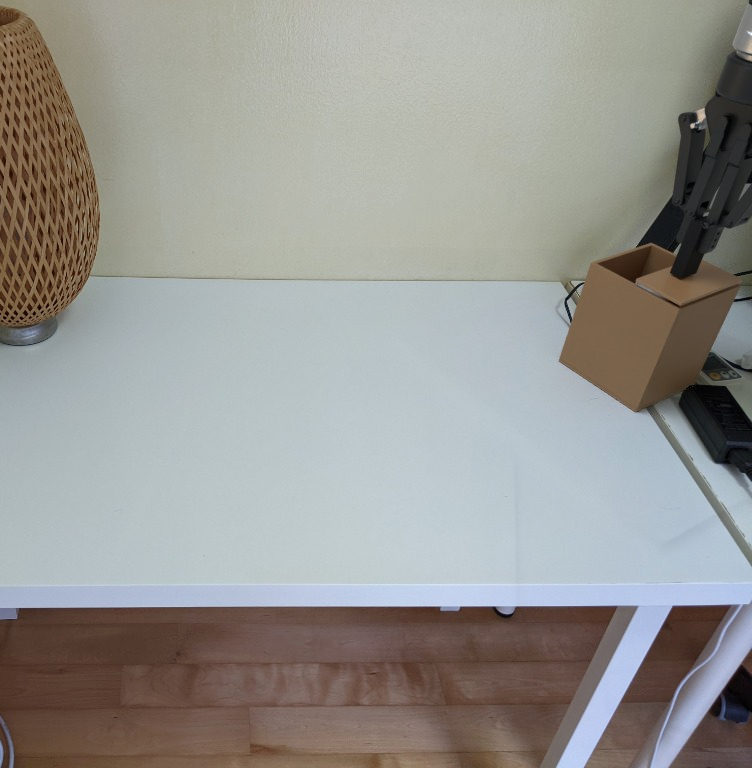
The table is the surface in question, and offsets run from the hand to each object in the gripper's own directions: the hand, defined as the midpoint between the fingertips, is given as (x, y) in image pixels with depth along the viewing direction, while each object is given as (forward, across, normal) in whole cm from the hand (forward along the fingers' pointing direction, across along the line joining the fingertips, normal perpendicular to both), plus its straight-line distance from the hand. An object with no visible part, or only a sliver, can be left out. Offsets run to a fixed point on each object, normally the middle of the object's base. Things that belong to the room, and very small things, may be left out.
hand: (682, 272), depth 88 cm
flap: (+1, +1, 0) cm, 1 cm away
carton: (+16, -2, 0) cm, 16 cm away
